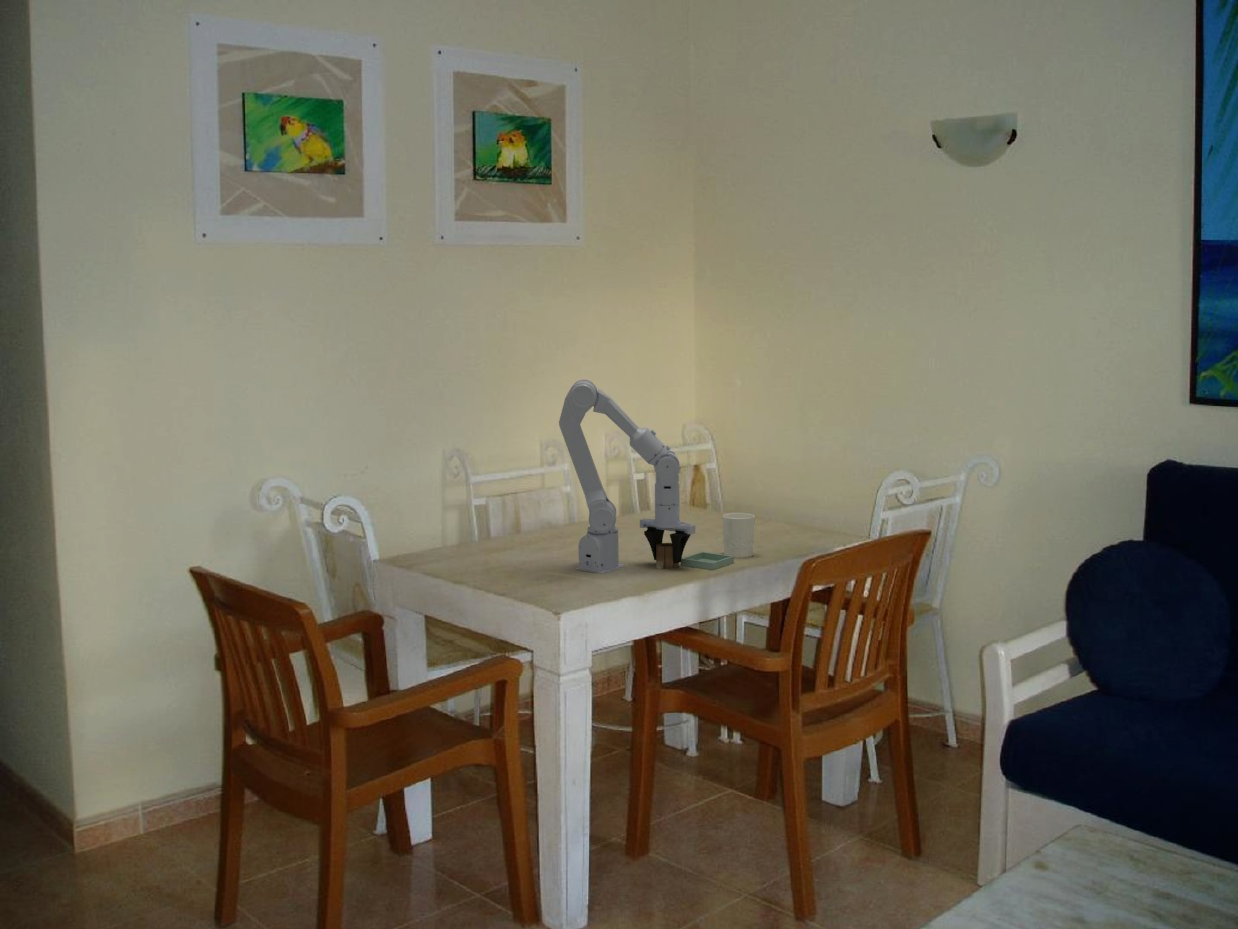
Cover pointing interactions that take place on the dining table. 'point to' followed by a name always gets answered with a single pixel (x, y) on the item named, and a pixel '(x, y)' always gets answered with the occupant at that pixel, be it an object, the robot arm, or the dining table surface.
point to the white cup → (738, 534)
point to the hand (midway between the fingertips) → (667, 561)
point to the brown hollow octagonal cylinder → (665, 556)
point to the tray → (707, 560)
